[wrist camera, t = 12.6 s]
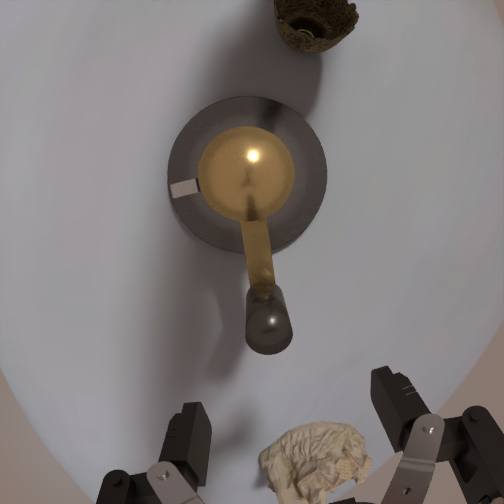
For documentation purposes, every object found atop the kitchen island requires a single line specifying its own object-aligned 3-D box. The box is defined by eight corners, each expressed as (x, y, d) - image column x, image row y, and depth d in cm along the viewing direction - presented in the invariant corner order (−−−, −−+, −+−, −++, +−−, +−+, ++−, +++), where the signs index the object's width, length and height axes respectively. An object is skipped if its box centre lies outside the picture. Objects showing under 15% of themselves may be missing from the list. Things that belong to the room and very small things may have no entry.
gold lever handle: (197, 138, 22) (173, 123, 15) (283, 126, 22) (298, 104, 15) (227, 311, 26) (219, 360, 19) (305, 300, 26) (324, 346, 18)
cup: (347, 57, 26) (374, 29, 18) (289, 77, 27) (302, 48, 19) (314, 8, 24) (330, -29, 16) (256, 26, 25) (258, -13, 17)
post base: (157, 119, 28) (136, 108, 22) (307, 88, 27) (320, 69, 21) (189, 263, 32) (177, 283, 26) (335, 234, 31) (354, 248, 25)
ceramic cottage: (245, 457, 40) (252, 531, 26) (320, 405, 38) (351, 486, 23) (304, 477, 44) (320, 537, 30) (372, 433, 42) (403, 494, 27)
